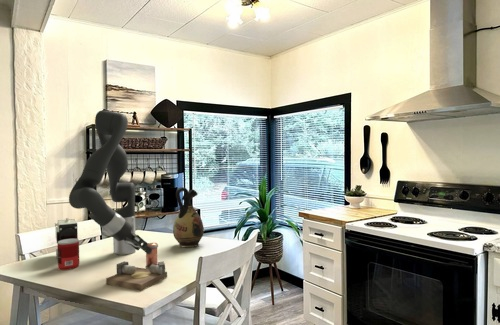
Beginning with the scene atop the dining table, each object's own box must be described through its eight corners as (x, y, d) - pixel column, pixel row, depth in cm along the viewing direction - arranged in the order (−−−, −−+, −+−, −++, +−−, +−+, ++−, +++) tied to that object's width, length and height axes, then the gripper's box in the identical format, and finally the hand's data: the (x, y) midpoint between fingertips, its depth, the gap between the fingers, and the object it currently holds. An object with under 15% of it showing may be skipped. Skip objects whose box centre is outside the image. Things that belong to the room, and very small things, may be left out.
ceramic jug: (191, 240, 188) (191, 185, 188) (210, 245, 177) (209, 186, 177) (164, 246, 176) (163, 187, 175) (182, 251, 165) (181, 189, 165)
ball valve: (54, 253, 164) (54, 216, 164) (75, 251, 169) (74, 214, 169) (56, 263, 149) (55, 222, 149) (78, 260, 153) (77, 220, 153)
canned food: (83, 264, 147) (83, 239, 147) (68, 270, 139) (67, 243, 139) (69, 263, 149) (69, 237, 149) (53, 269, 142) (53, 242, 141)
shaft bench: (106, 284, 124) (105, 268, 124) (134, 271, 137) (134, 257, 137) (143, 290, 117) (143, 274, 117) (169, 277, 130) (169, 262, 130)
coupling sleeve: (142, 269, 139) (142, 244, 139) (151, 266, 144) (150, 242, 144) (152, 271, 137) (152, 246, 137) (160, 267, 142) (160, 243, 142)
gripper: (132, 220, 127) (160, 245, 135) (114, 215, 137) (141, 239, 145) (118, 237, 123) (148, 261, 132) (101, 231, 133) (129, 255, 141)
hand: (144, 250), depth 138 cm, fingers open, 8 cm apart
